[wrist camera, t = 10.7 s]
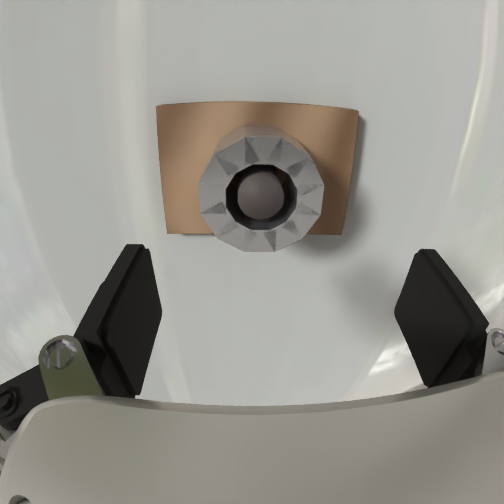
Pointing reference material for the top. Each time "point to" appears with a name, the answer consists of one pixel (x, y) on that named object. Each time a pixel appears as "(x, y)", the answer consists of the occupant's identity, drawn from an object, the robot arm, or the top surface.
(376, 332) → the top surface
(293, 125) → the post block
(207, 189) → the steel ring
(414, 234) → the top surface
